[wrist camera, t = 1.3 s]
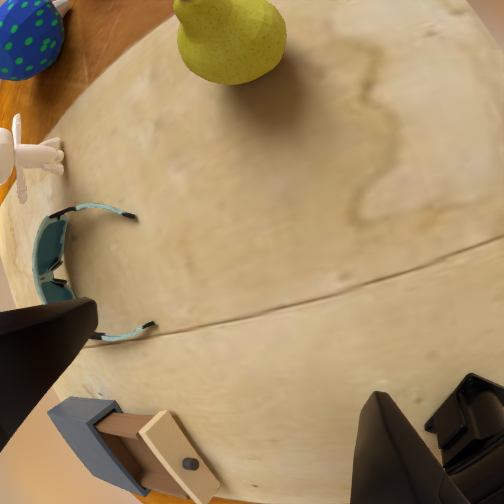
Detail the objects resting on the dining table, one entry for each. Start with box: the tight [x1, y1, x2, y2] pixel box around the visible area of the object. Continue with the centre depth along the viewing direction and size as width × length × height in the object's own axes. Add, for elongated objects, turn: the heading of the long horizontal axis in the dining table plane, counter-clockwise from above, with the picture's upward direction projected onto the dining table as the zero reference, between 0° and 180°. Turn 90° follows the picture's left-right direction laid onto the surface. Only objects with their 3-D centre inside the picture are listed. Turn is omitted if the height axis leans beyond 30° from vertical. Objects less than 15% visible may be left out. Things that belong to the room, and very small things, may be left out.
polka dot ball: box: [0, 0, 70, 81], centre depth 21 cm, size 14×14×15 cm
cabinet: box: [47, 397, 151, 497], centre depth 34 cm, size 16×15×6 cm
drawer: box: [93, 410, 221, 504], centre depth 29 cm, size 16×13×4 cm
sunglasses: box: [32, 203, 154, 342], centre depth 27 cm, size 14×15×5 cm
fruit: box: [174, 0, 287, 85], centre depth 13 cm, size 7×7×12 cm
